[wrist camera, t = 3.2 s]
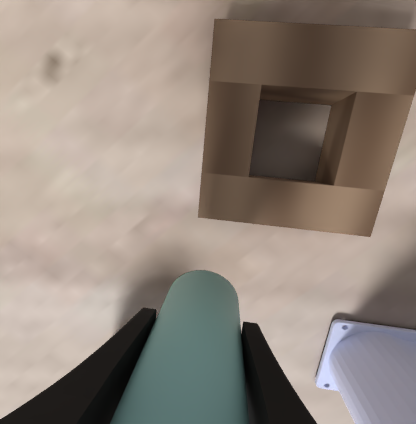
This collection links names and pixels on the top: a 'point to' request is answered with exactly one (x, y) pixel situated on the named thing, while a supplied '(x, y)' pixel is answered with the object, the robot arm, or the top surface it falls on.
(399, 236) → the top surface
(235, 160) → the socket block
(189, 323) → the dowel
